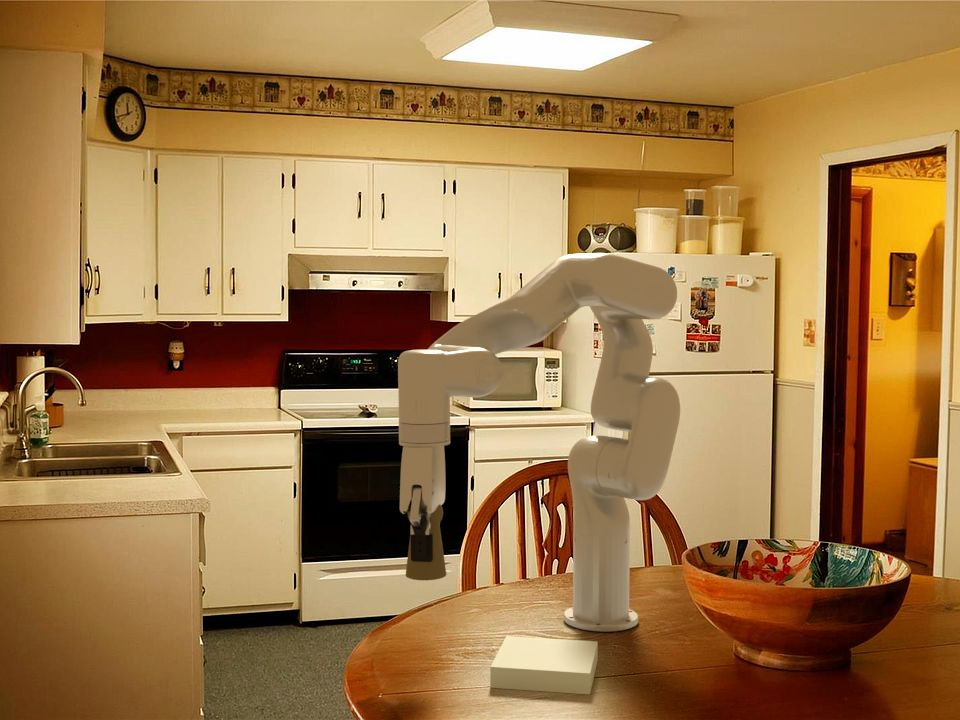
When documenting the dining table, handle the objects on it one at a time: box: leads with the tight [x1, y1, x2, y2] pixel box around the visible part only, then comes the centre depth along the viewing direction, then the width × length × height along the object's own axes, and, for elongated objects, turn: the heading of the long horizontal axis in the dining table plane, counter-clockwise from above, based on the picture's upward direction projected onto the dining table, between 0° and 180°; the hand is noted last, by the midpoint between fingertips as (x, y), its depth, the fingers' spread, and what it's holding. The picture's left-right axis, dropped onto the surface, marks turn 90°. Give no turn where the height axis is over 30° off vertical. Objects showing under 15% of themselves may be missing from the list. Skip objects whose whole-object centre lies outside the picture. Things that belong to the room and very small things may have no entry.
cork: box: [405, 504, 447, 581], centre depth 157 cm, size 6×6×11 cm
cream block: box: [489, 635, 599, 695], centre depth 156 cm, size 14×14×3 cm
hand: (425, 555), depth 157 cm, fingers closed on cork, 4 cm apart
